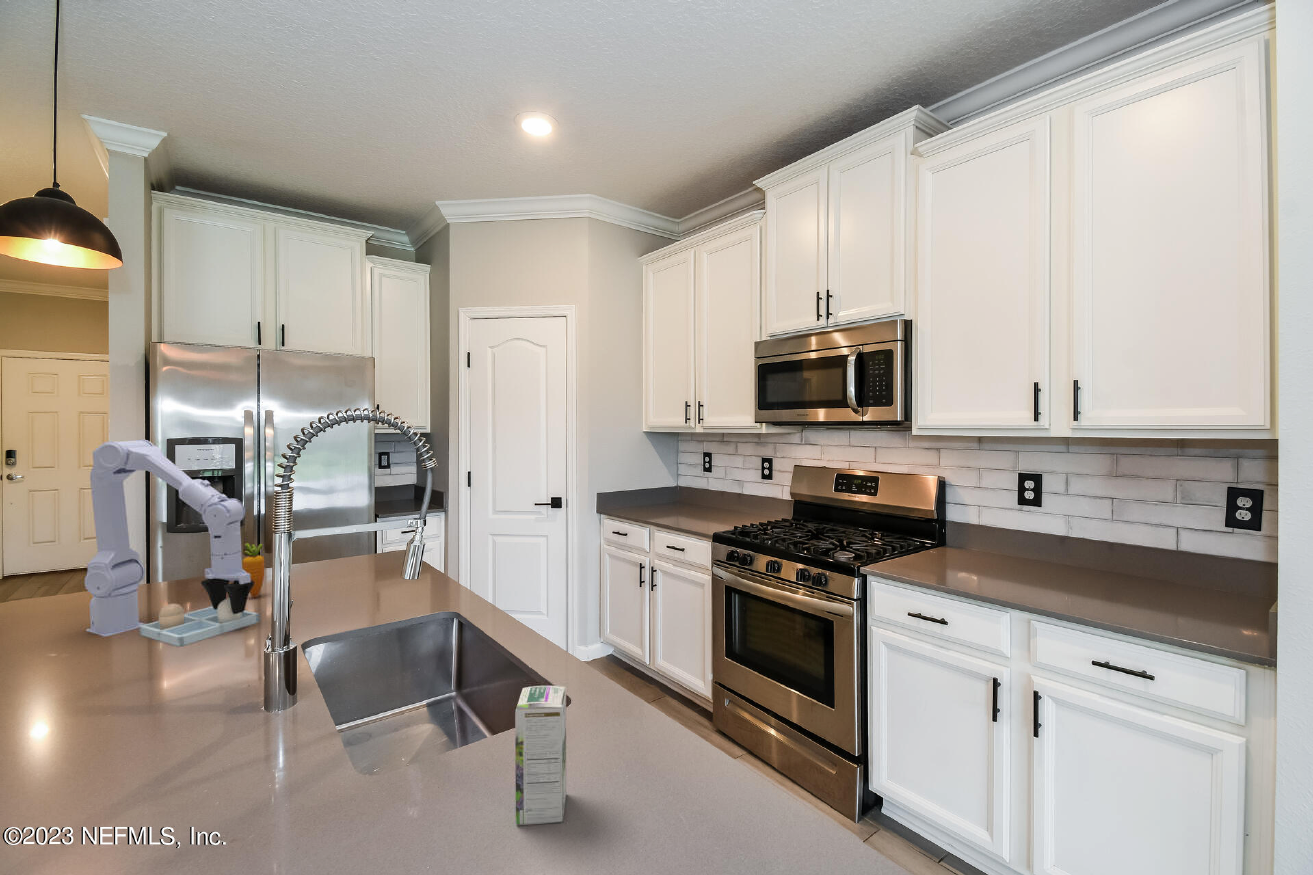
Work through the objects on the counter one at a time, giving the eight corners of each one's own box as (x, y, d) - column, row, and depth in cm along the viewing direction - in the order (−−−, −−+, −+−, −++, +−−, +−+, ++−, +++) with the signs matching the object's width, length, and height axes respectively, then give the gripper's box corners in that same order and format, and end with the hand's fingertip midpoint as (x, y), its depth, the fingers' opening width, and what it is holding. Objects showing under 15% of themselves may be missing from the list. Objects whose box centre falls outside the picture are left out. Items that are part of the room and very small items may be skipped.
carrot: (270, 595, 164) (268, 540, 164) (256, 600, 159) (254, 544, 159) (253, 594, 165) (251, 540, 164) (239, 600, 160) (236, 544, 159)
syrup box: (522, 796, 77) (519, 685, 77) (568, 793, 78) (566, 683, 77) (515, 826, 72) (512, 708, 71) (565, 823, 72) (563, 705, 72)
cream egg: (213, 626, 139) (212, 600, 138) (234, 620, 143) (233, 594, 142) (224, 629, 137) (223, 602, 137) (245, 623, 141) (244, 597, 140)
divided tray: (139, 637, 134) (139, 626, 134) (219, 614, 149) (219, 604, 149) (179, 649, 127) (179, 637, 127) (259, 624, 142) (259, 613, 142)
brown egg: (155, 632, 135) (154, 605, 135) (178, 626, 139) (176, 599, 139) (166, 635, 133) (164, 608, 133) (188, 629, 137) (187, 602, 137)
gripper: (189, 553, 139) (191, 611, 139) (225, 559, 132) (228, 620, 133) (222, 546, 145) (224, 602, 146) (258, 552, 139) (261, 610, 139)
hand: (228, 610), depth 140 cm, fingers open, 7 cm apart
